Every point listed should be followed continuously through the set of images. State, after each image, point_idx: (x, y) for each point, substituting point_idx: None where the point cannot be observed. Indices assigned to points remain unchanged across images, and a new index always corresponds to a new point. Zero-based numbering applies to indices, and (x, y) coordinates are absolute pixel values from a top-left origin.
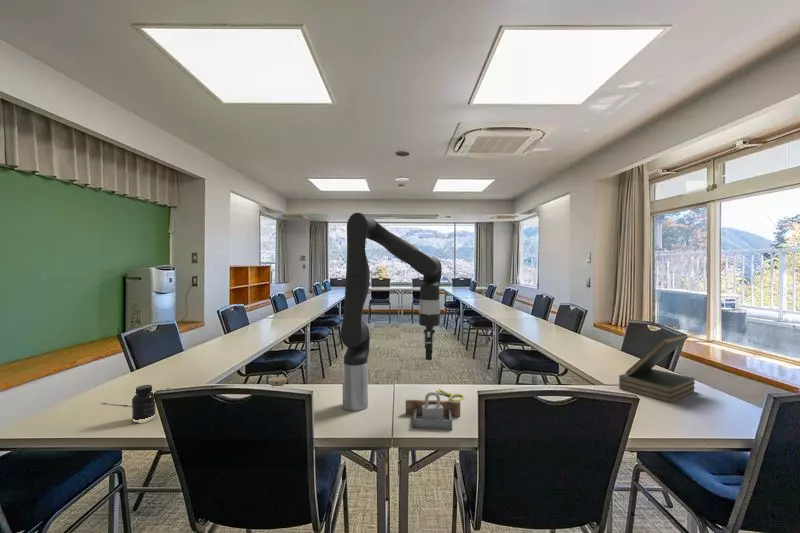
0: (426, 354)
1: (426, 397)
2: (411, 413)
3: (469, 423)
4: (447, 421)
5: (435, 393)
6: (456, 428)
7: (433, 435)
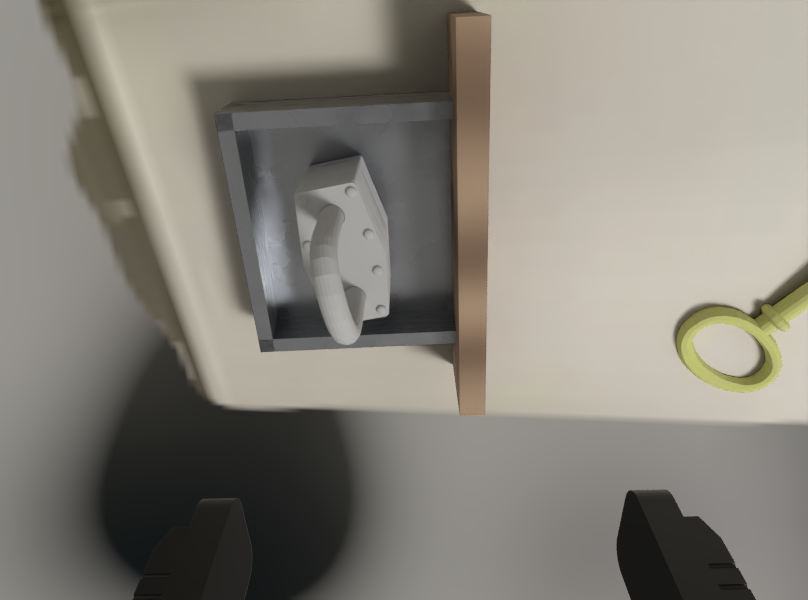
0: (174, 585)
1: (311, 246)
2: (448, 63)
3: (369, 403)
4: (257, 326)
5: (329, 329)
6: None
7: (178, 233)
